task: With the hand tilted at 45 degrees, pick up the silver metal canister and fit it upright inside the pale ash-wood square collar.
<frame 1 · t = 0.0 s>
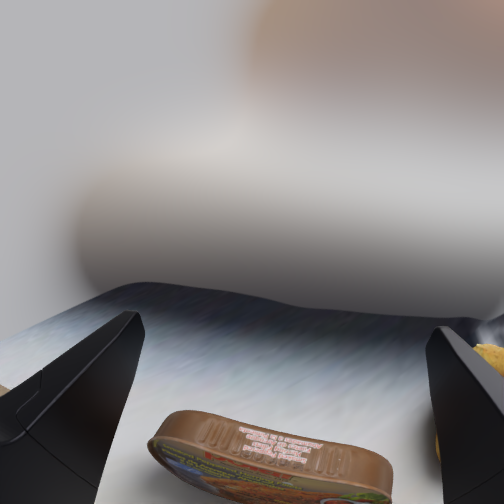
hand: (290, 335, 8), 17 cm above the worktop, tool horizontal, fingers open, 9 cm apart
tin: (266, 491, 17), on the worktop
bread roll: (465, 420, 19), on the worktop
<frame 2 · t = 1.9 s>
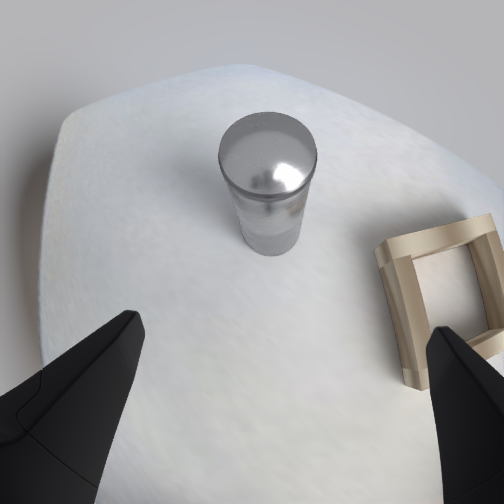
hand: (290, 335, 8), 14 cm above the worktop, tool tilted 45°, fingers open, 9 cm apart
collar: (447, 299, 21), on the worktop
silver metal canister: (271, 228, 24), on the worktop
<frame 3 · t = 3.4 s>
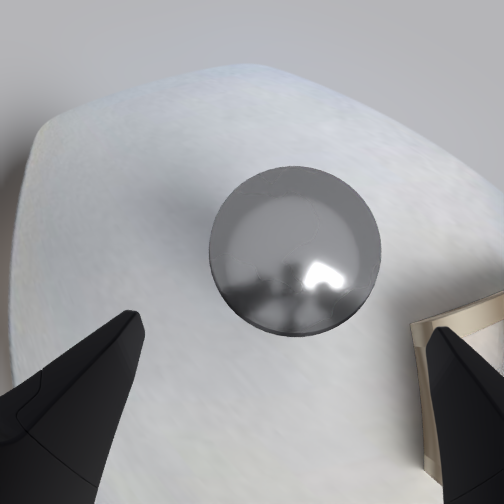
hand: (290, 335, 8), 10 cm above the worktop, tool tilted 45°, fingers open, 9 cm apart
collar: (483, 376, 16), on the worktop
silver metal canister: (284, 294, 18), on the worktop
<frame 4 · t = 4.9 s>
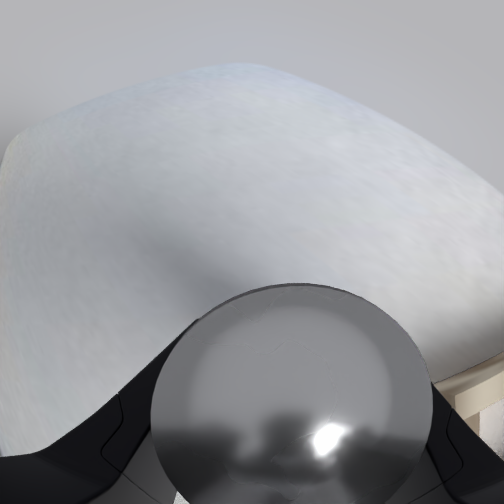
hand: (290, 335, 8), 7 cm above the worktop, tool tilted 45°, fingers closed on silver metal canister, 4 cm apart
collar: (498, 431, 12), on the worktop
silver metal canister: (281, 359, 14), on the worktop, touching gripper
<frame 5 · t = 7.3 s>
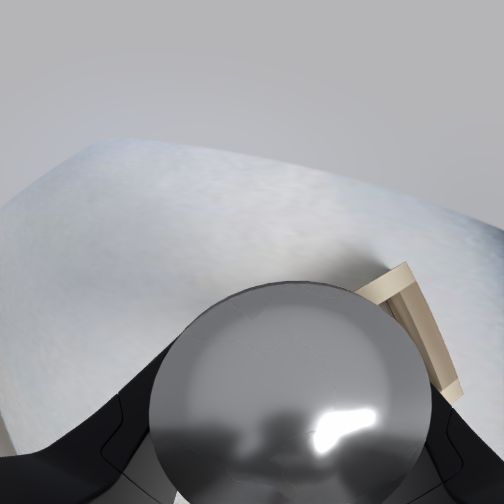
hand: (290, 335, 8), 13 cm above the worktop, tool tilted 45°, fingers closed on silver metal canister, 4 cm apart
collar: (362, 369, 20), on the worktop
silver metal canister: (281, 359, 15), point 7 cm above the worktop, touching gripper
when the fingers open (7 cm above the worktop, at t = 9.7 s): silver metal canister stays where it is, resting in collar.
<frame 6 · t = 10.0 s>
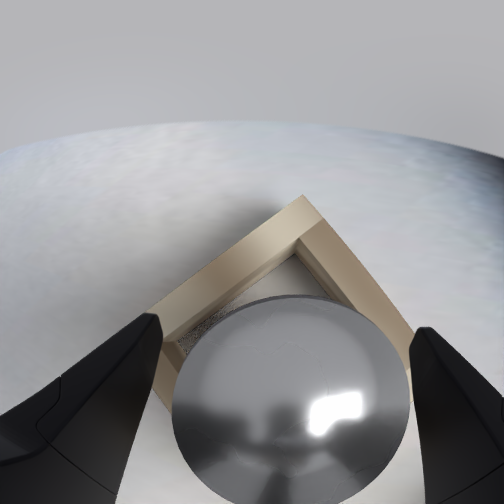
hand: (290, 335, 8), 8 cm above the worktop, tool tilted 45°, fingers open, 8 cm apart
collar: (281, 357, 15), on the worktop
silver metal canister: (280, 358, 15), resting in collar
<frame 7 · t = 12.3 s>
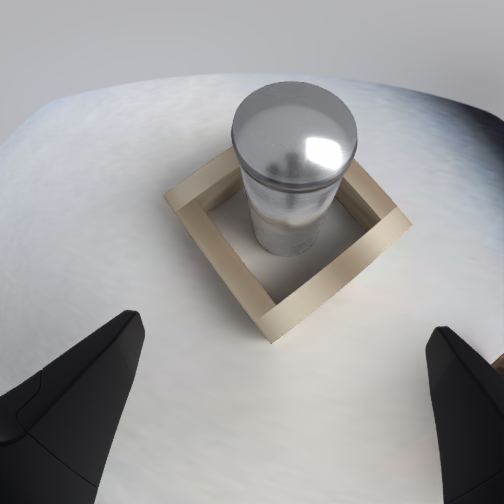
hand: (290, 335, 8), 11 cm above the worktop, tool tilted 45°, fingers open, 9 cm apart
collar: (286, 223, 21), on the worktop
silver metal canister: (286, 224, 21), resting in collar
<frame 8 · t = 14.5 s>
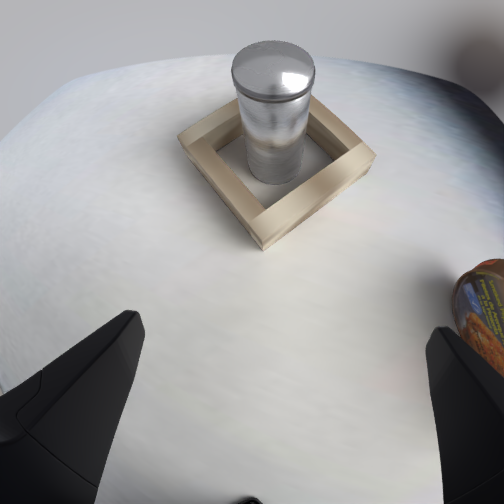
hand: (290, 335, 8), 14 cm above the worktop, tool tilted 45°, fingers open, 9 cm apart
tin: (479, 351, 20), on the worktop
collar: (275, 160, 25), on the worktop
silver metal canister: (275, 161, 25), resting in collar
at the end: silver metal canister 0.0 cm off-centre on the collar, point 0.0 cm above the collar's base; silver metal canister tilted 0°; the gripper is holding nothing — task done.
